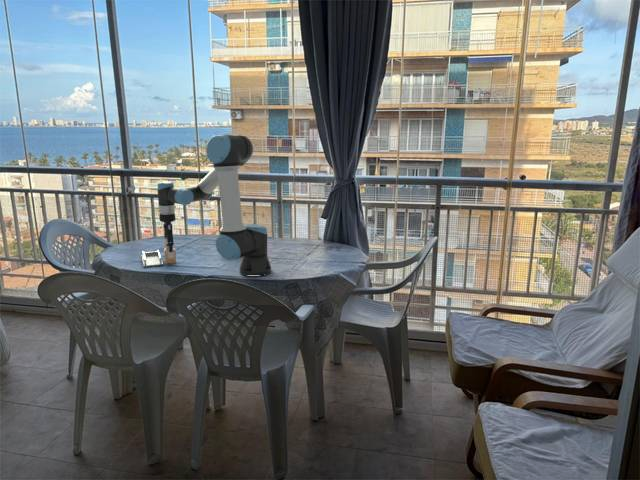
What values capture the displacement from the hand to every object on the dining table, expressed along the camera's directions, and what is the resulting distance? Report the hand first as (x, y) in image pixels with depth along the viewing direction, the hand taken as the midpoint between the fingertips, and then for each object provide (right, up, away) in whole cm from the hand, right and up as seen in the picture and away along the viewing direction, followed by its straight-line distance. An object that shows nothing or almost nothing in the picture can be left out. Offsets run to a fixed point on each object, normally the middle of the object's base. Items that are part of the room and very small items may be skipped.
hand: (169, 254), depth 223 cm
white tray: (-9, -4, +2) cm, 10 cm away
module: (0, -4, +1) cm, 4 cm away
